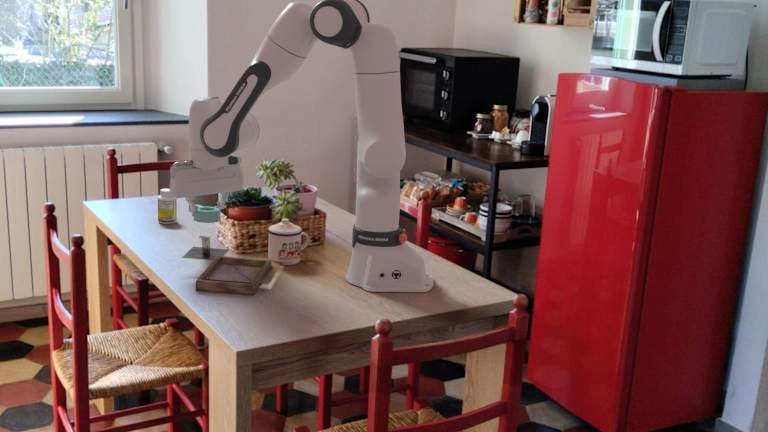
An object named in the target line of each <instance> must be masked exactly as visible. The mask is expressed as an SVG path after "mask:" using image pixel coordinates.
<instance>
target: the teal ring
mask: <svg viewBox="0 0 768 432" xmlns="http://www.w3.org/2000/svg"><path fill="white" fill-rule="evenodd" d="M197 206H198V212H195V213H191V217H193V221H194V222H197V223H206V224H210V223H211V224H212V223H219V222H220V221H221V213H222V212H221V210H222V209H219V208H216V207H207V206H201V205H197Z"/></svg>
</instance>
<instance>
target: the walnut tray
mask: <svg viewBox="0 0 768 432" xmlns="http://www.w3.org/2000/svg"><path fill="white" fill-rule="evenodd" d="M221 264H226V265H227V264H228V265H240V266H253V267H261V269H260V270H259V271H258V273H257V274H256V276H255V277H254V279H252V281H251V282H247V281H236V280H222V279H221V280H220V279H211V278H210V277H211V275H212V274H213V273H214V272H215V271H216V270H217V268H218V267H220V265H221ZM271 267H272V260H270V259H260V258H248V257H247V258H245V257H235V256H225V255H224V256H218V257H217V258H216V259H215V260H212V262H211V264H209V266H208V267H207V268H206V269H204V271H203V272H202V273H201V274H200V275H199V276H198V278H197V279H196V280H195V291H197V292H205V293H206V292H207V293H209V292H210V293H218V294H219V293H221V294H232V295H233V294H234V295H247V296H255V294H256V292H257V291H258V290H259V288H260V287H261V285H262V283H261V282H262V280H263V279H264V278H265V276H266V274H267V273H268V271H269V270H270V269H271Z"/></svg>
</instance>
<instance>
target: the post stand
mask: <svg viewBox="0 0 768 432" xmlns="http://www.w3.org/2000/svg"><path fill="white" fill-rule="evenodd" d="M211 238H212V237H211V236H207V235H200V236H199V238H198V239H200V240H201V247H200V246H193V247H191V248H190V249H189V250H188V251H186V253H185V254H184V255H183V256H182V257H181V258H183V259H193V260H194V259H196V260H205V261H206V260H208V261H214V260H215V259H216V258H217V257H218V256H224V257H225V255H226V253H228V251H229V249H228V248H226V249H225V248H224V249H223V248H213V247H211Z"/></svg>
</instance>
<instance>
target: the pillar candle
mask: <svg viewBox="0 0 768 432" xmlns="http://www.w3.org/2000/svg"><path fill="white" fill-rule="evenodd" d="M192 201H193V203H194V205H201V206H207V207H215V206H217V202H218V201H220V199H219V193H215V194H208V195H200V196H194V200H192ZM189 210H190V205H189V204H188V211H189Z"/></svg>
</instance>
